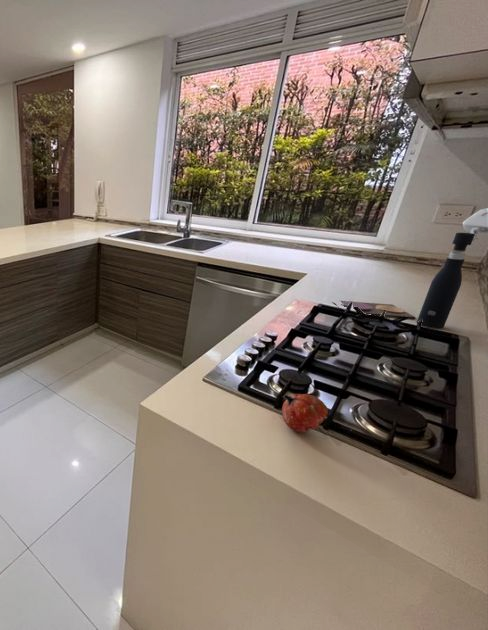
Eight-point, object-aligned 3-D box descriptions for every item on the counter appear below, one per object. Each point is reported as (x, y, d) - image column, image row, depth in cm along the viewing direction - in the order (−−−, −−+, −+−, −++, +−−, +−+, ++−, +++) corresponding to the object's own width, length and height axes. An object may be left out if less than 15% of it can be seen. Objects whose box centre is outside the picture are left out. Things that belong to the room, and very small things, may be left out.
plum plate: (364, 304, 130) (365, 302, 130) (376, 311, 122) (377, 309, 122) (337, 302, 133) (337, 300, 133) (347, 309, 125) (348, 307, 125)
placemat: (391, 306, 130) (392, 303, 130) (414, 319, 118) (415, 315, 117) (331, 302, 136) (332, 299, 135) (346, 313, 123) (347, 310, 123)
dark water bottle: (437, 322, 114) (473, 232, 103) (447, 329, 109) (487, 235, 98) (412, 320, 117) (445, 231, 106) (421, 326, 111) (457, 234, 100)
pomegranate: (312, 429, 68) (273, 391, 70) (348, 416, 63) (305, 375, 65) (305, 453, 63) (264, 411, 66) (343, 441, 58) (297, 395, 60)
